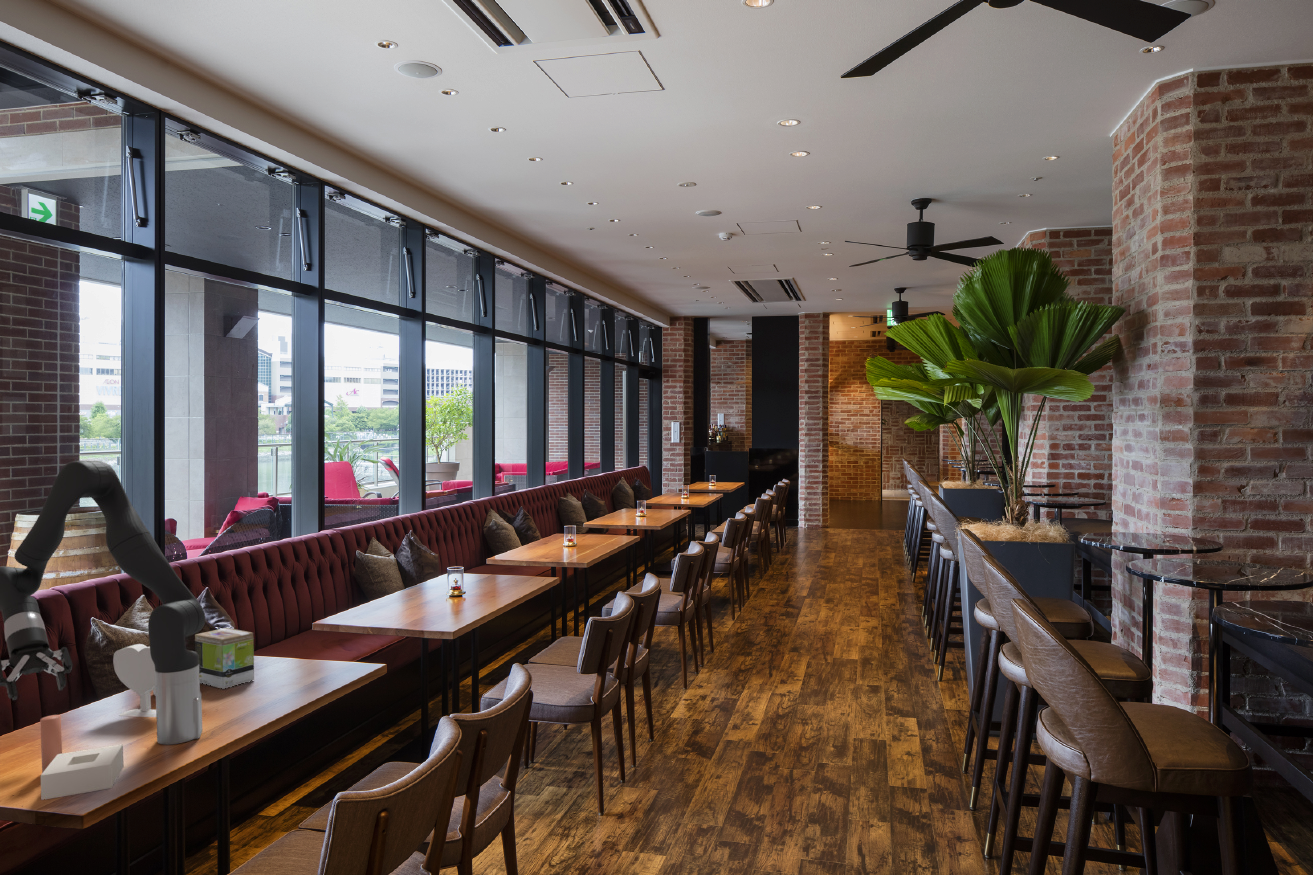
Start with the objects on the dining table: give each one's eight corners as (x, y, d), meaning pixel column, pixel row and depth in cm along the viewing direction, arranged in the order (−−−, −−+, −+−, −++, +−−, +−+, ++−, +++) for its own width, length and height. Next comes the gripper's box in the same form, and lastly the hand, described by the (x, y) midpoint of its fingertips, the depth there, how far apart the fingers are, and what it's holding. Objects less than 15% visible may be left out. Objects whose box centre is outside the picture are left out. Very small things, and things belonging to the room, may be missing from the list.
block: (123, 766, 178) (122, 744, 178) (111, 787, 167) (110, 764, 167) (58, 776, 173) (57, 754, 173) (41, 799, 162) (40, 775, 162)
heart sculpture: (178, 710, 214) (176, 643, 214) (164, 717, 209) (162, 648, 209) (127, 708, 217) (125, 642, 217) (112, 715, 212) (110, 647, 212)
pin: (64, 767, 179) (62, 713, 178) (60, 773, 175) (58, 718, 175) (44, 770, 177) (43, 716, 177) (39, 776, 174) (38, 721, 174)
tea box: (255, 680, 239) (254, 631, 239) (222, 690, 231) (221, 639, 231) (227, 673, 247) (226, 626, 247) (194, 682, 239) (193, 633, 239)
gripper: (-11, 632, 183) (1, 692, 176) (64, 620, 194) (79, 676, 187) (-15, 651, 187) (-3, 710, 180) (60, 638, 198) (73, 694, 190)
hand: (39, 693), depth 183 cm, fingers open, 8 cm apart
